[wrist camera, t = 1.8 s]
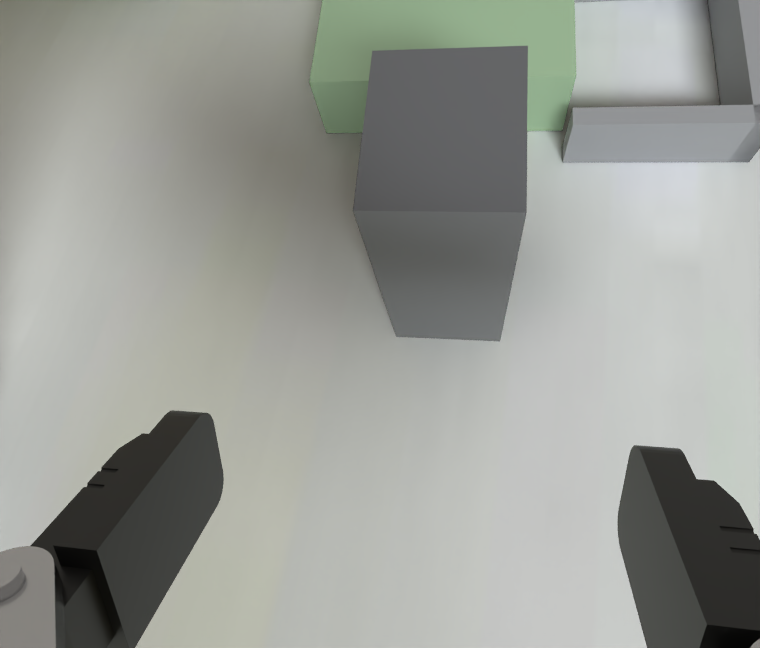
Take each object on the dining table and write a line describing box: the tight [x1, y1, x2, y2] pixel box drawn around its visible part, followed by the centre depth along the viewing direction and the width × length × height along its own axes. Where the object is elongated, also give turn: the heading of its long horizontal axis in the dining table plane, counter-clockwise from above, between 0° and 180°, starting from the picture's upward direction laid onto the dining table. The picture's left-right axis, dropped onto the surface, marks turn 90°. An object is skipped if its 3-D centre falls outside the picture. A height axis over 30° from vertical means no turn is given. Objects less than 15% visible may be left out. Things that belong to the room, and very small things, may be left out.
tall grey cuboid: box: [353, 46, 528, 341], centre depth 23 cm, size 5×6×12 cm
